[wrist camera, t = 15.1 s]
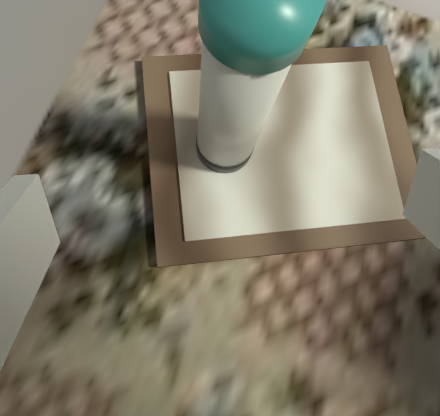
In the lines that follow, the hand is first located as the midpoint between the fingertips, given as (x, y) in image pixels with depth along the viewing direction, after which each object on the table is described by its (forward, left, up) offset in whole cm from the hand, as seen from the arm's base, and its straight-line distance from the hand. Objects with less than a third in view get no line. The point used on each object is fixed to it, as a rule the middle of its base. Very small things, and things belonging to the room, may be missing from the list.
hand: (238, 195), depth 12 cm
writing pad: (-6, -7, -13) cm, 16 cm away
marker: (-1, -7, -12) cm, 14 cm away
